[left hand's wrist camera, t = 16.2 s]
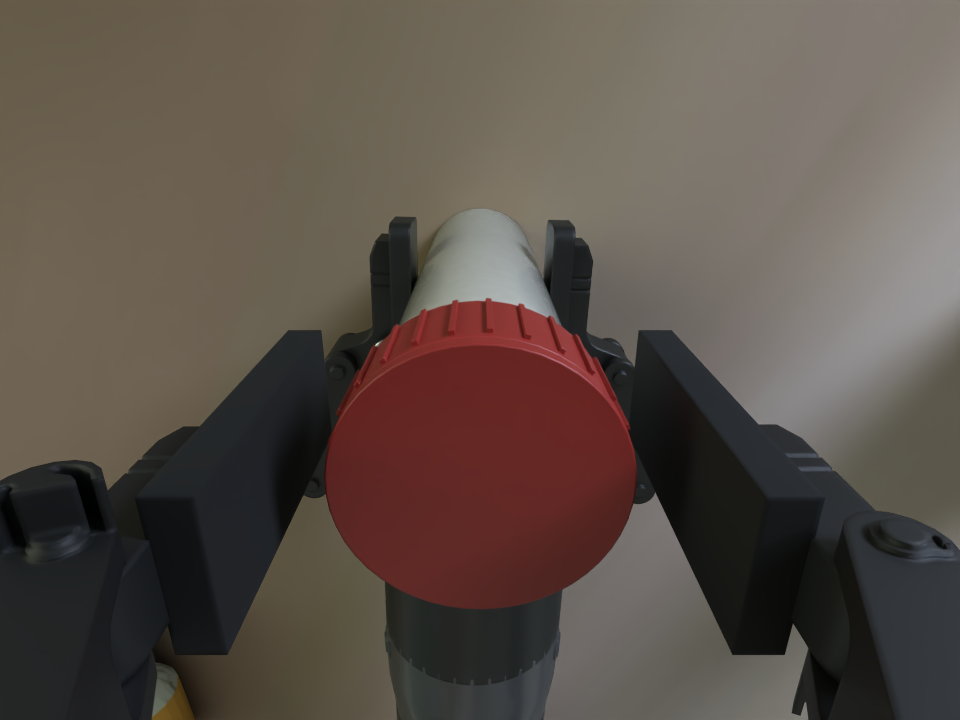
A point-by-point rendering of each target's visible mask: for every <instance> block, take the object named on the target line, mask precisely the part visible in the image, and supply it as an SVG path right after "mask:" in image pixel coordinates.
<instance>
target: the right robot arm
mask: <svg viewBox="0 0 960 720" xmlns="http://www.w3.org/2000/svg"><path fill="white" fill-rule="evenodd" d="M592 266H593V260H592V256H591V253H590V250H589V246H588V245H587V244H586V243H585V241H584V240H583V239H582V238H575V227H574V226H573V225H572V223H571V222H570V221H569V220H548V224H547V233H546V248H545V263H544V278H543V280H544V283H545V285H546V288H547V290H548V293H549V295H550V298H551V300H552V303H553V305H554V308H555V310H556V313H557V315H558V318H559V320H560V322H561V325H562V327H563V328H564V329H565V330H567V331H568V332H569V333H570V334H572V335H574V334H577V335H578V336H579V337H580V340H581V342H582V344H583V346H584V348H585V349H586V351H587V352H588V353H589V355H590V356H591V358H594V357H596V358H597V360H598V361H599V363H600V365H601V367H602V369H603V371H604V373H605V375H606V377H607V379H608V381H609V383H610V385H611V387H612V389H613V391H614V393H615V395H616V397H617V401H618V403H619V405H620V407H621V409H622V411H623V413H624V415H625V417H626V419H627V421H628V423H629V418H630V409H631V399H632V390H633V381H634V371H635V367H634V366H633V364H632V363H631V362H630V361H629V360H628V359H627V357H626V356H625V353H624V350H623V348H622V347H621V345H620V344H619V342H617V341H616V340H614V339H611V338H604V339H600V338H598V337H595V336H593V335H590V334H589V333H587V332H586V328H587V317H588V307H589V297H590V287H591V276H592ZM370 272H371V295H372V316H373V327H372V328H370V329H369V330H366V331H363V332H360V333H357V334H355V333H347V334H344V335H342V336H341V337H340V338H339V339H338V341H337V342H336V344H335V345H334V347H333V348H332V350H331V351H330V353H329V354H328V356H327V357H326V359H325V361H324V362H325V371H326V381H327V390H328V400H329V409H330V418H331V428H332V431H333V429H334V427H335V425H336V422H337V420H338V418H339V416H338V415H336V413H337V411H338V408H339V406H340V404H341V402H342V400H343V398H344V396H345V394H346V392H347V390H348V388H349V386H350V384H351V382H352V380H353V378H354V376H355V374H356V372H357V370H361V368H362V366H363V364H364V362H365V360H366V358H367V356H368V354H369V352H370V350H371V348H372V347H373V345H375V346H377V347H378V346H379V344H380V343H381V342H382V341H383V340H384V339H385V338H386V337H387V336H388V335H389V334H390V333H391V331H392V329H393V327H394V326H395V325H396V324H398V325H399V324H400V321H401V319H402V316H403V314H404V311H405V309H406V306H407V304H408V301H409V299H410V296H411V294H412V292H413V289H414V287H415V284H416V282H417V279H418V262H417V221H416V217H395V218H394V219H393V220H392V221H391V222H390V225H389V234H381V235H380V236H379V237H378V239H377V240H376V241H375V243H374V246H373V249H372V251H371V254H370ZM627 431H628V430H627ZM632 445H633V444H632ZM328 446H329V445H327V446H326V448H325V450H324V452H323V454H322V457H321V459H320V461H319V463H318V465H317V467H316V469H315V471H314V473H313V475H312V478H311V480H310V482H309V484H308V486H307V488H306V490H305V492H304V494H303V495H305V496H307V497H310V498H319V497H322V496H323V495H325V494H326V493H325V480H324V471H325V459H326V454H327V450H328ZM633 449H634V454H635V460H636V467H637V474H636V491H635V497H634V504H642V503H645V502H647V501H649V500H650V499H651V498H652V497H653V496H654V494H655V490H654V488H653V486H652V484H651V482H650V480H649V478H648V476H647V473H646V471H645V469H644V467H643V465H642V463H641V461H640V459H639V457H638V454H637V452H636V450H635V448H634V446H633ZM385 593H386V618H387V625H386V631H385V646H386V652H387V653H388V658H389V669H390V676H391V681H392V685H393V689H394V693H395V697H396V712H397V720H544V716H545V705H546V699H547V696H548V693H549V690H550V686H551V682H552V678H553V674H554V667H555V659H556V657H557V656H558V651H559V643H560V632H559V619H560V609H561V598H562V590H560V591H558V592H556V593H554V594H552V595H549V596H547V597H544V598H542V599H539V600H536V601H532V602H529V603H525V604H522V605H517V606H511V607H505V608H495V609H464V608H456V607H449V606H444V605H440V604H436V603H431V602H428V601H425V600H422V599H419V598H417V597H414V596H411V595H409V594H407V593H405V592H403V591H401V590H399V589H397V588H395V587H393V586H392V585H390V584H388V583H387V582H385Z"/></svg>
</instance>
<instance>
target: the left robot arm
mask: <svg viewBox="0 0 960 720" xmlns="http://www.w3.org/2000/svg"><path fill="white" fill-rule="evenodd" d="M629 426H630V430H628V433H629V436H630V439H631V442H632V444H633V446H634V448H635V450H636V452H637V454H638V457H639V459H640V461H641V463H642V465H643V467H644V469H645V471H646V473H647V476H648V478H649V480H650V482H651V484H652V486H653V488H654V490H655V492H656V494H657V497H658V499H659V501H660V503H661V505H662V507H663V509H664V511H665V513H666V516H667V518H668V520H669V522H670V524H671V526H672V528H673V530H674V532H675V535H676V537H677V539H678V541H679V543H680V545H681V547H682V549H683V551H684V553H685V556H686V558H687V560H688V562H689V564H690V566H691V568H692V570H693V572H694V575H695V577H696V579H697V581H698V583H699V585H700V587H701V589H702V591H703V593H704V596H705V598H706V600H707V602H708V604H709V606H710V608H711V610H712V612H713V615H714V617H715V619H716V621H717V623H718V625H719V627H720V629H721V631H722V634H723V636H724V638H725V640H726V642H727V644H728V646H729V648H730V650H731V652H732V655H785V651H786V648H787V644H788V640H789V636H790V632H791V628H792V625H793V624H794V625H795V627H796V629H797V630H798V632H799V633H800V635H801V636H802V638H803V640H804V641H805V643H806V644H807V646H808V652H807V655H806V659H805V663H804V666H803V670H802V673H801V677H800V681H799V684H798V688H797V691H796V695H795V698H794V703H793V709H792V713H793V714H796V715H800V716H801V712H802V709H803V706H804V703H805V702H806V704H807V711H808V719H809V720H960V550H959V549H958V548H957V546H956V545H955V544H954V543H953V542H952V541H951V540H950V539H948V538H947V537H945V536H944V535H942V534H941V533H939V532H938V531H937V530H935V529H933V528H931V527H929V526H927V525H925V524H922V523H920V522H918V521H916V520H914V519H911V518H908V517H904V516H900V515H897V514H893V513H889V512H880V511H875V510H874V509H873V508H872V507H871V506H870V505H869V504H868V503H867V502H866V501H865V500H864V499H863V498H862V497H861V496H860V495H859V494H858V493H857V492H856V491H855V490H854V489H853V488H852V487H851V486H850V485H849V484H848V483H847V482H846V481H845V480H844V479H843V478H842V477H841V476H840V475H839V474H838V473H837V472H836V471H832V467H831V466H830V465H829V464H828V463H826V462H825V461H824V460H823V459H822V458H819V457H818V454H817V453H816V452H815V451H814V450H813V449H812V448H811V447H810V446H809V445H808V444H807V443H806V442H805V441H804V440H803V439H802V438H800V437H798V436H797V435H795V434H793V433H791V432H789V431H788V430H786V429H784V428H782V427H780V426H778V425H758V424H757V423H756V421H755V420H754V419H753V418H752V417H751V416H750V415H749V414H748V413H747V412H746V411H745V410H744V408H743V407H742V406H741V405H740V404H739V403H738V402H737V401H736V400H735V399H734V398H733V397H732V395H731V394H730V393H729V392H728V391H727V390H726V389H725V388H724V387H723V386H722V385H721V383H720V382H719V381H718V380H717V379H716V378H715V377H714V376H713V375H712V374H711V373H710V372H709V370H708V369H707V368H706V367H705V366H704V365H703V364H702V363H701V362H700V361H699V360H698V359H697V357H696V356H695V355H694V354H693V353H692V352H691V351H690V350H689V349H688V348H687V347H686V346H685V344H684V343H683V342H682V341H681V340H680V339H679V338H678V337H677V336H676V335H675V334H674V333H673V331H672V330H639V334H638V343H637V352H636V362H635V371H634V381H633V390H632V399H631V409H630V418H629ZM331 433H332V428H331V418H330V409H329V400H328V390H327V381H326V371H325V362H324V353H323V343H322V334H321V330H288V331H287V333H286V334H285V335H284V336H283V337H282V338H281V339H280V340H279V341H278V342H277V343H276V344H275V346H274V347H273V348H272V349H271V350H270V351H269V352H268V353H267V354H266V355H265V356H264V357H263V359H262V360H261V361H260V362H259V363H258V364H257V365H256V366H255V367H254V368H253V369H252V370H251V372H250V373H249V374H248V375H247V376H246V377H245V378H244V379H243V380H242V381H241V382H240V383H239V385H238V386H237V387H236V388H235V389H234V390H233V391H232V392H231V393H230V394H229V395H228V396H227V398H226V399H225V400H224V401H223V402H222V403H221V404H220V405H219V406H218V407H217V408H216V410H215V411H214V412H213V413H212V414H211V415H210V416H209V417H208V418H207V419H206V420H205V421H204V423H203V424H202V425H201V426H200V427H182V428H180V429H178V430H177V431H175V432H173V433H171V434H169V435H167V436H166V437H164V438H162V439H160V440H158V441H157V442H156V443H155V444H154V445H153V446H152V447H151V448H150V449H149V450H148V451H147V452H146V453H145V454H144V455H143V456H142V460H138V461H137V462H136V463H135V464H134V465H133V466H132V467H131V468H130V469H129V472H128V474H124V475H123V476H122V477H121V478H120V479H119V480H118V481H117V482H116V483H115V484H114V485H113V486H112V487H111V488H110V489H109V490H108V491H107V487H106V483H105V480H104V476H103V473H102V469H101V468H100V467H99V466H97V465H95V464H94V463H92V462H86V461H79V460H71V461H59V462H52V463H48V464H44V465H40V466H35V467H31V468H29V469H26V470H23V471H21V472H18V473H16V474H13V475H11V476H8V477H6V478H4V479H3V480H1V481H0V720H152V713H153V705H154V698H155V690H156V682H157V669H156V663H155V659H154V655H153V652H152V649H153V648H154V646H155V644H156V643H157V641H158V640H159V638H160V636H161V635H162V633H163V632H164V630H165V628H166V627H167V625H168V628H169V632H170V636H171V640H172V644H173V648H174V652H175V655H228V652H229V650H230V648H231V646H232V644H233V642H234V640H235V638H236V636H237V633H238V631H239V629H240V627H241V625H242V623H243V621H244V619H245V617H246V615H247V612H248V610H249V608H250V606H251V604H252V602H253V600H254V598H255V596H256V593H257V591H258V589H259V587H260V585H261V583H262V581H263V579H264V577H265V574H266V572H267V570H268V568H269V566H270V564H271V562H272V560H273V558H274V556H275V553H276V551H277V549H278V547H279V545H280V543H281V541H282V539H283V537H284V534H285V532H286V530H287V528H288V526H289V524H290V522H291V520H292V518H293V516H294V513H295V511H296V509H297V507H298V505H299V503H300V501H301V499H302V497H303V494H304V492H305V490H306V488H307V486H308V484H309V482H310V480H311V478H312V475H313V473H314V471H315V469H316V467H317V465H318V463H319V461H320V459H321V457H322V454H323V452H324V450H325V448H326V446H327V443H328V439H329V437H330V435H331Z"/></svg>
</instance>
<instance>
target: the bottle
mask: <svg viewBox="0 0 960 720" xmlns="http://www.w3.org/2000/svg"><path fill="white" fill-rule="evenodd" d="M486 298H491V299H492V301H496V302H502V303H508V304H513V305H517V306H518V305H519V303H521V304H524V306H525V308H527V309H530V310H532V311H535V312H537V313H539V314H541V315H544V316H546V317H547V318H548V317H549V315H550V316H552V317H554V319H555V321H556V323H557V324H559V325H561V322H560V320H559V318H558V315H557V313H556V310H555V308H554V305H553V303H552V300H551V298H550V295H549V293H548V290H547V288H546V285H545V283H544V280H543V278H542V275H541V273H540V270H539V268H538V266H537V263H536V261H535V258H534V256H533V253H532V251H531V248H530V246H529V243H528V241H527V238H526V236H525V235H524V233H523V231H522V230H521V229H520V227H519V226H518V225H517V224H516V223H515V222H514V221H513V220H511V219H510V218H509V217H507V216H505V215H504V214H502V213H499V212H497V211H493V210H489V209H472V210H467V211H464V212H461V213H459V214H457V215H455V216H453V217H452V218H450V219H449V220H448V221H447V222H445V223H444V224H443V226H442V227H441V228H440V229H439V231H438V232H437V233H436V235H435V237H434V239H433V242H432V244H431V247H430V249H429V252H428V254H427V257H426V259H425V262H424V264H423V267H422V269H421V272H420V274H419V277H418V279H417V282H416V284H415V287H414V289H413V292H412V294H411V296H410V299H409V301H408V304H407V306H406V309H405V311H404V314H403V316H402V319H401V321H400V324H399V326H401V325H402V324H404V323H405V322H407V321H408V320H410V319H412V318H414V317H416V316H418V315H420V311H421V310H423V309H426V310H427V311H429V310H432V309H434V308H437V307H440V306H444V305H448V304H452V301H453V300H458V302H467V301H486ZM561 326H562V325H561Z"/></svg>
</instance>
